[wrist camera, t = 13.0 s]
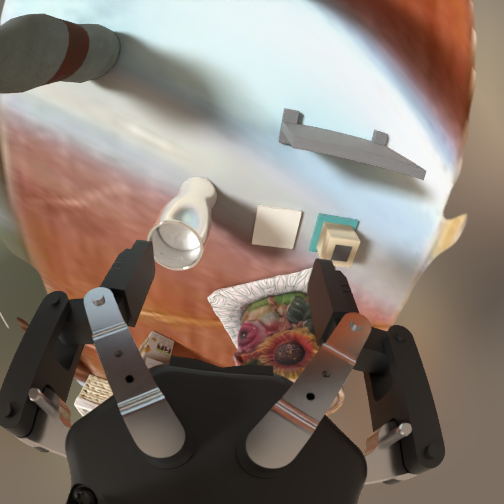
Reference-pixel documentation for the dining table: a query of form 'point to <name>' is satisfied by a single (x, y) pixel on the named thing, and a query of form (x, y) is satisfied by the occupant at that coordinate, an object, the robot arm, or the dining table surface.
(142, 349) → the coffee box
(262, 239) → the pad
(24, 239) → the dining table surface
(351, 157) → the screen
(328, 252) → the beige cube
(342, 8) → the dining table surface
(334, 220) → the pad
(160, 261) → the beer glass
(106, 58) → the bottle
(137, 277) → the robot arm
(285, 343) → the cookie jar
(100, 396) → the storage basket
